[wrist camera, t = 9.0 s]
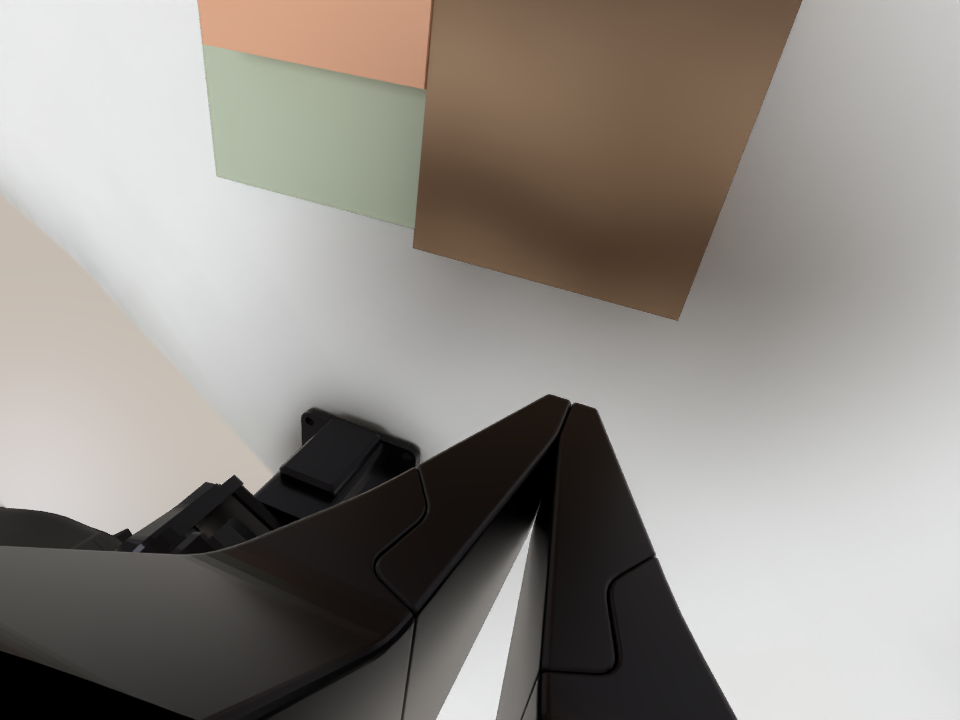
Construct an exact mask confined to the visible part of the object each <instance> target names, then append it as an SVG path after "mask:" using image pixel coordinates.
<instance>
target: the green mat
mask: <svg viewBox="0 0 960 720" xmlns="http://www.w3.org/2000/svg"><path fill="white" fill-rule="evenodd" d="M197 1H198V0H197ZM198 10H199V7H198ZM199 19H200V16H199ZM200 29H201V26H200ZM201 38H202V35H201ZM202 47H203V56H204V65H205V74H206V84H207V93H208V102H209V111H210V120H211V129H212V139H213V148H214V157H215V166H216V175H217V177H220V178H224V179H228V180H232V181H236V182H239V183H243V184H247V185H251V186H254V187H258V188H262V189H266V190H269V191H273V192H277V193H281V194H284V195H288V196H292V197H296V198H300V199H303V200H307V201H311V202H315V203H318V204H322V205H326V206H330V207H333V208H337V209H341V210H345V211H348V212H352V213H356V214H360V215H364V216H367V217H371V218H375V219H379V220H382V221H386V222H390V223H394V224H397V225H401V226H405V227H409V228H412V229H415V217H416V206H417V194H418V182H419V170H420V159H421V147H422V135H423V124H424V112H425V100H426V89H420V88H415V87H410V86H405V85H400V84H395V83H390V82H386V81H381V80H376V79H371V78H366V77H361V76H356V75H351V74H346V73H341V72H337V71H332V70H327V69H322V68H317V67H312V66H307V65H302V64H297V63H293V62H288V61H283V60H278V59H273V58H268V57H263V56H258V55H253V54H248V53H244V52H239V51H234V50H229V49H224V48H219V47H214V46H209V45H204V44H202Z"/></svg>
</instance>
